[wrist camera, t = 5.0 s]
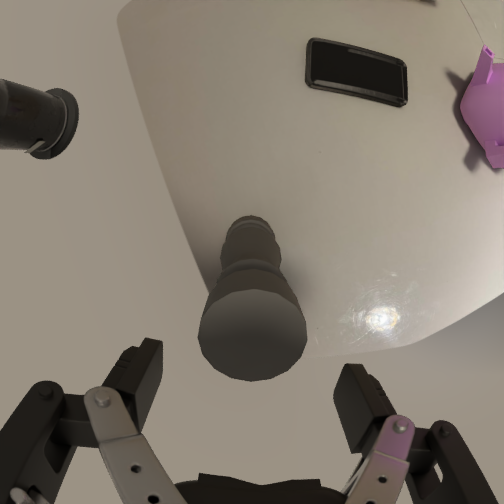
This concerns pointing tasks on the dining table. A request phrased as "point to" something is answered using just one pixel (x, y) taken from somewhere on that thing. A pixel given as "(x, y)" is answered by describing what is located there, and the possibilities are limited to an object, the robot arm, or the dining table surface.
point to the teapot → (486, 107)
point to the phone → (356, 72)
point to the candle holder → (252, 308)
